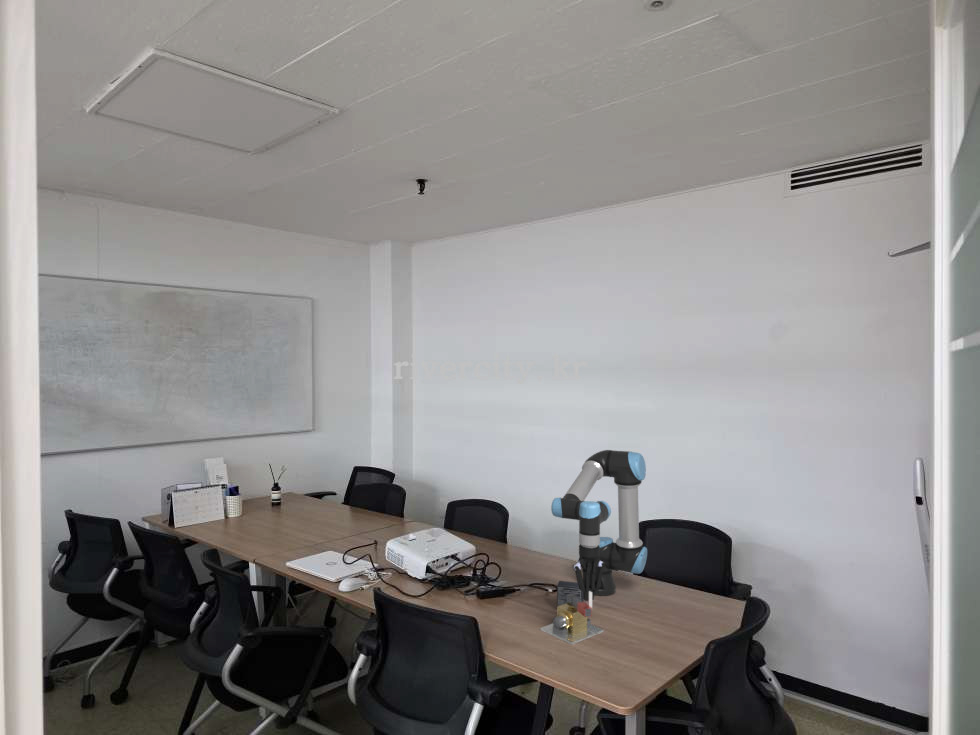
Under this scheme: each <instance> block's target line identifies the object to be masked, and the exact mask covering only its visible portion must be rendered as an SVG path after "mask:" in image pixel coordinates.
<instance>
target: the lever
mask: <svg viewBox="0 0 980 735" xmlns="http://www.w3.org/2000/svg"><path fill="white" fill-rule="evenodd" d="M567 605H570V606H573V607H574V608H575V609H577V611H578V612H579V613H580V614H582V615H583V616H584V617H589V618H591V617H592V614H593V612H592V611H593V607H592V608H591V607H590V606H589V605H587V604H586V603H585V601H584V602H583V601H582V600H580V599H579V598H578V595H576V594H568V595H567Z"/></svg>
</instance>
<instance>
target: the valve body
mask: <svg viewBox="0 0 980 735" xmlns="http://www.w3.org/2000/svg"><path fill="white" fill-rule="evenodd" d="M556 612H557V613H556V617H554V618H553V619H552V623H549V624H547V625H545V626H542V627H540V628H539V631H541V632H544V633H546V634H548V635H549V636H552V637H554V638H556V639H559V640H560V641H563V642H565V643H567V644H569V645H572V646H573V645H575V644H577V643H580V642H581V641H584V640H587V639H589V638H592V637H594V636H596V635H599V634H601V633H604V631H605V630H604V628H601V627H598V626H596V625H593V624H592V620H591V618H590V617H584V616H583V615H582V614H580V613H579V612H578V611H577V609H575V608H574V607H573V606H570V605H567V603H566V604H563V605H560V606H557V605H556ZM589 618H590V619H589Z"/></svg>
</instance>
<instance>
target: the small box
mask: <svg viewBox="0 0 980 735" xmlns="http://www.w3.org/2000/svg"><path fill="white" fill-rule="evenodd" d="M556 586H557V587H556V588H557V589H556V590H557V591H556V598H557V599H556V607H557V606H560V605H563V604H566V603H567V595H568V594H576V595H578V598H579V599H580V600H582V601H583V602H585V600H584V591H581V590H580V589H579V587H578V583H577V582H576V581H575V582H574V581H566V580H565V581H564V580H559V581H558V582H557V585H556Z"/></svg>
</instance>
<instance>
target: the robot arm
mask: <svg viewBox="0 0 980 735" xmlns="http://www.w3.org/2000/svg"><path fill="white" fill-rule="evenodd" d="M646 467H647V466H646V461H645V458H644V456H643V454H641V453H639V452H635V451H634V452H633V451H629V450H628V451H627V450H613V449H612V450H611V449H605V450H600V451H598V452H596V453H593V454H592V455H590V457H588V458H586V460H585V461H584V463H583V464H582V467H581V471H580V473H579V474H578V476H577V477H576V478H575V479H574V481H573V483H572V484H571V486H570V487H569V488H568V489H567V491H566V492H565V494H564V496H563V497H555V498H554V499H553V500H552V502H551V506H550V508H551V514H552V516H554V517H555V518H561V519H568V520H576V521H578V523H579V524H578V527H579V529H578V531H579V532H578V534H579V535H578V538H579V539H578V540H579V541H578V543H579V545H578V556H579V557H578V562H577V563H576V564H573V565H572V569H573V570H574V573H575V577H576V581H577V582H576V583H578V587H579V589H580V590H581V591H584V602H585V603H586V604H587V605H589V606H590V607H591V608H592V609H593V601H594V599H595V596H601V597H602V596H610V595H614V594H615V593H616V592H617V587H616V586H617V585H616V582H615V578H614V576H613V570H614V571H619V572H624V573H631V574H637V575H638V574H641V573H643V571H644V570H645V566H646V562H647V559H648V547H646V546H643V545H644V542H643V541H642V539H640V527H639V526H640V524H639V521H640V520H639V517H640V516H639V513H640V512H639V486H641V485H642V481H644V480H645V479H646V472H647V468H646ZM604 477H606V478H607V477H609V478H613V483H614V484H615V485H616V486H617V497H618V498H617V500H618V501H617V505H618V508H617V509H618V538H617V539H616V540H615V541H614V540H613V537H609V536H601V524H603V523H604V522H606V521H607V520H608V519H609V518H610V516H611V514H612V509H611V507H610V505H609V503H608V502H606V501H604V500H597V501H591V500H590V501H587V500H585V499H587V497H588V495H589V493H590V492H591V490H592V489H593V487H594V486H595V484H596V483H597V481H599V480H601V479H602V478H604Z"/></svg>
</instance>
